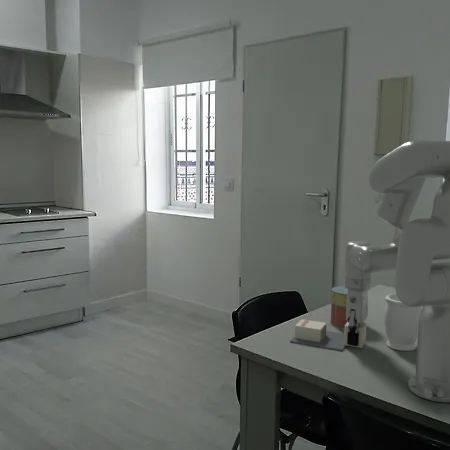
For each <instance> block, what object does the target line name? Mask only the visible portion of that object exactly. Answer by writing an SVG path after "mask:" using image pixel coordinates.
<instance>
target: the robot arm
mask: <svg viewBox="0 0 450 450" xmlns="http://www.w3.org/2000/svg"><path fill="white" fill-rule="evenodd" d="M427 178H428V179H429V178H442V179H444V181H443V182H442V183H441V185H440V186H439V188H438V189H437V191H436V193H435V195H434V197H433V201H432V202H433V205H432V211H431V215H430V217H429V218H427V217H426V218H425V217H424V218H416V219H414V220H412V221H410V218H411V216H412V213H413V210H414V209H415V206H416V204H417V201H418V199H419V196H420V193H421V191H422V190H423V187H424V185H425V184H424V183H425V182H426V179H427ZM368 182H369V186H370V187H371V190H373V191H374V192H376V193H379V194H381V198H380V200H379V203H378V206H377V210H376V213H377V216H378V218H380V220H382V221H383V222H385V223H386V224H387V225H391V226H392V227H394V234H393V237H392V238H391V240H390V243H388V244H386V243H385V244H377V245H372V244H371V242H367V241H363V240H353V241H349V242H347V244H346V245H345V258H344V259H345V262H344V285H343V286H344V287H345V288H346V289H348V291H347V303H346V321H347V322H349V325H348V336H347V344H348V345H353V346H358V344H359V333H358V326H359V323H360V324H363V323H365V322H366V320H367V318H368V316H369V291H370V290H371V286H372V285H371V283H372V281H371V280H372V273H380V272H391V271H395V273H394V274H395V275H394V290H395V294H397V296H398V298H399V300H400V301H401V302H402V303H403V304H405V305H407V306H411V307H420V306H421V313H420V317H419V326H418V338H417V341H416V342H417V344H416V358H415V359H416V360H415V361H416V362H415V376H413V377H411V378H410V379H408V383H407V387H408V389H409V391H410V392H412V393H413V394H414V395H416V396H417V397H420V398H423V399H425V400H428V401H432V402H437V403H450V262H447V261H446V262H445V261H441V262H433V261H436V260H437V261H438V260H448V259H450V140H424V139H423V140H422V139H421V140H419V139H418V140H410V141H407V142H405V143H403V144H401V145H400V146H398V147H396V148H395V149H393V150H392V151H390V152H389V153H387V154H385V155H384V156H382V157H381V158H380V159H378V160H377V161H376V162H375V163H374V164H373V166H372V168H371V170H370V172H369V176H368ZM354 321H356V322H354ZM354 324H356V327H355V326H354Z"/></svg>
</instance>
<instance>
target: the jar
mask: <svg viewBox="0 0 450 450" xmlns="http://www.w3.org/2000/svg"><path fill="white" fill-rule="evenodd" d="M385 301H386V304H385V308H384V316H383V317H384V319H383V320H384V325H385V327H384V328H385V334H386V337H387V339H388V340H387V341H386V345H387V347H389V348H391V349H393V350H395V351H403V352H408V351H409V352H411V351H414V350H417V344H416V342H417V341H418V326H419V317H420V313H421V310H422V306H420V307H411V306H407V305H405V304H403V303H402V302H401V301H400V300H399V298H398V296H397V294H396V293H391V294H390V293H389V294H387V295H385Z"/></svg>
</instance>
